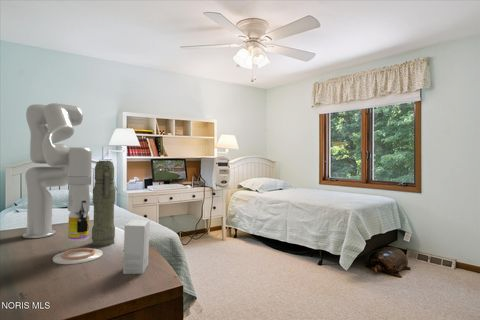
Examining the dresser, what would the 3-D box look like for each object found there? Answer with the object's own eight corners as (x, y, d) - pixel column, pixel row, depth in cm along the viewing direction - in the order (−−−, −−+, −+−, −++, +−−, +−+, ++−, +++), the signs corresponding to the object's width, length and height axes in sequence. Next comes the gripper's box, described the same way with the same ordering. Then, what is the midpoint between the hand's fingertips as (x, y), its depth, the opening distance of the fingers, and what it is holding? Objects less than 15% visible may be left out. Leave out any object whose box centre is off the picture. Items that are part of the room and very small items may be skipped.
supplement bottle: (80, 243, 105) (80, 206, 105) (63, 241, 106) (64, 205, 106) (93, 238, 111) (93, 203, 111) (77, 236, 113) (78, 203, 113)
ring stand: (47, 256, 109) (47, 251, 109) (94, 247, 120) (94, 243, 120) (59, 267, 97) (59, 263, 97) (109, 257, 109) (109, 252, 109)
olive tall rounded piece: (96, 248, 119) (98, 161, 119) (88, 242, 128) (89, 160, 127) (119, 244, 125) (120, 161, 125) (109, 238, 133) (110, 160, 133)
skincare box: (129, 265, 101) (130, 219, 101) (149, 265, 102) (150, 219, 102) (122, 274, 93) (123, 224, 93) (144, 274, 93) (144, 224, 93)
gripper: (61, 180, 112) (60, 227, 112) (75, 183, 100) (74, 236, 100) (83, 179, 118) (82, 224, 118) (99, 182, 105) (98, 232, 105)
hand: (79, 229), depth 109 cm, fingers closed on supplement bottle, 6 cm apart
